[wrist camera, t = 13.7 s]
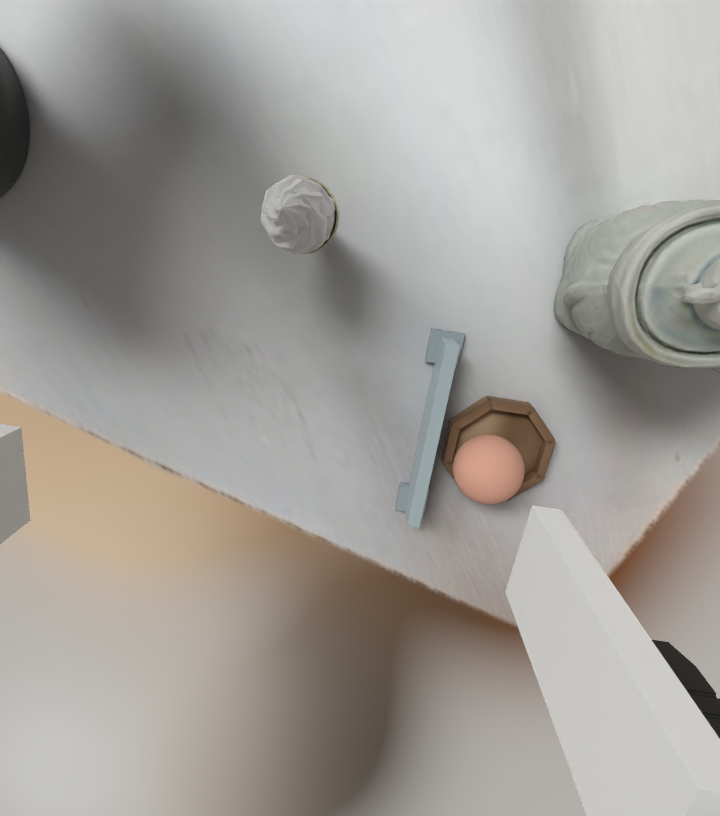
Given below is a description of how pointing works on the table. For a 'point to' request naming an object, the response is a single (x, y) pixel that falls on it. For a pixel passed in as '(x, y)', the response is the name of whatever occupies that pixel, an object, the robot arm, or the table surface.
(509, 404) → the cork ring
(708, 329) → the teapot
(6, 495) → the robot arm
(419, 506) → the low wall
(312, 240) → the ice cream cone
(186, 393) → the table surface
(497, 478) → the ball
